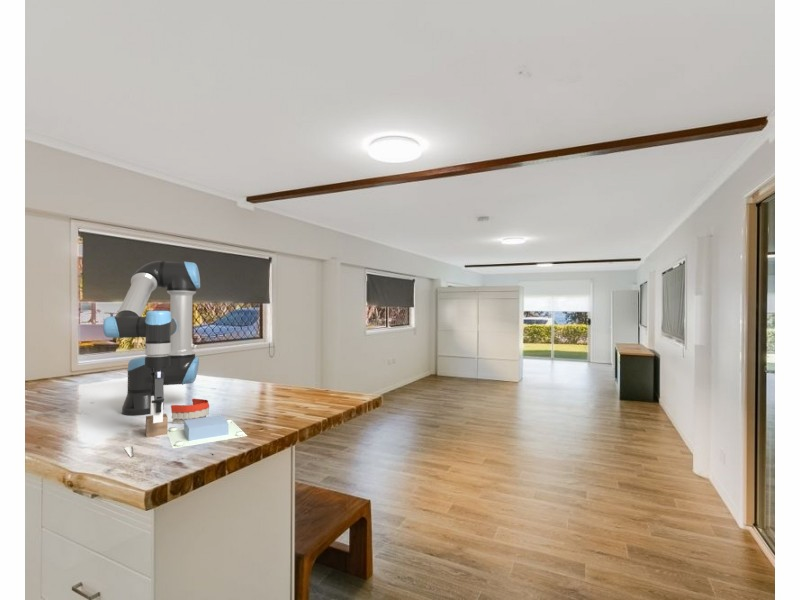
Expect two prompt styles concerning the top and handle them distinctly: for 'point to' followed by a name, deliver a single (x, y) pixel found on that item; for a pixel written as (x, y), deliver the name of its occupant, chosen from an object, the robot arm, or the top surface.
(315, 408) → the top surface
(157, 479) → the top surface
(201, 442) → the build plate
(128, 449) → the page
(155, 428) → the walnut block
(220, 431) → the base brick
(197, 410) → the toy
